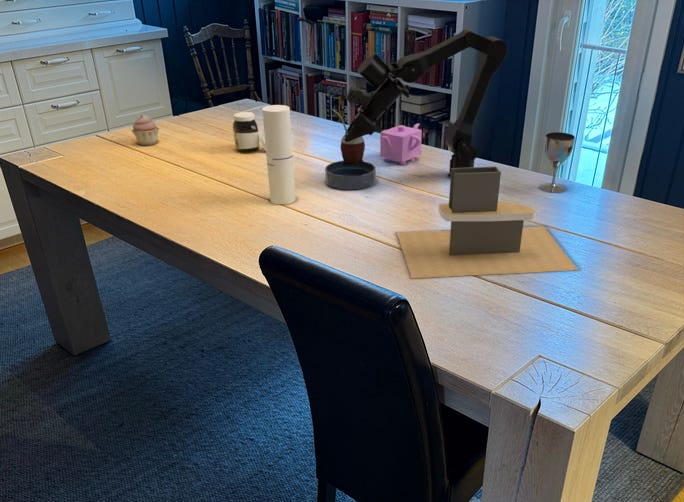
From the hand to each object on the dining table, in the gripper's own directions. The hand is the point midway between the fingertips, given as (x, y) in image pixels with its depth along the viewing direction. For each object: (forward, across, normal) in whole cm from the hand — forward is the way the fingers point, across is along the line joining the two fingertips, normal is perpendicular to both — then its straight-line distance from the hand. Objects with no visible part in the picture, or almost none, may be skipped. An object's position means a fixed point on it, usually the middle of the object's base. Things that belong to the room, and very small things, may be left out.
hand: (345, 137), depth 195 cm
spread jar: (+33, -32, -14) cm, 48 cm away
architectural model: (-15, +48, +34) cm, 61 cm away
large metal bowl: (+9, 0, +10) cm, 13 cm away
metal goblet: (-33, +5, +53) cm, 62 cm away
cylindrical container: (+22, +14, -3) cm, 26 cm away
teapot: (-2, -21, +21) cm, 30 cm away
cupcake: (+60, -40, -42) cm, 83 cm away
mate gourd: (+4, 0, +6) cm, 8 cm away
